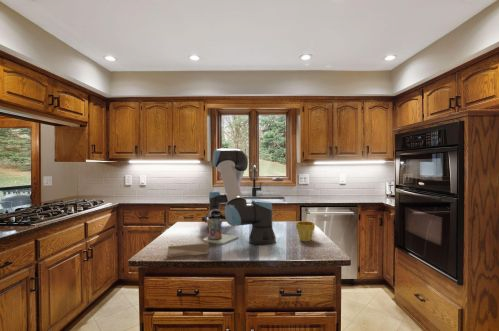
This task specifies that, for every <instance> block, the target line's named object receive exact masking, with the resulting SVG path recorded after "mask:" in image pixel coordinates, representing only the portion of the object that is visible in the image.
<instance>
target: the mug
mask: <svg viewBox="0 0 499 331" xmlns="http://www.w3.org/2000/svg"><path fill="white" fill-rule="evenodd" d="M223 220H224V219H209V220H207V222H206V223H208V224H207V226H208V235H207V238H209V239H219V238H221V237H222V235H221V234H222V231H221V227H222V222H223Z"/></svg>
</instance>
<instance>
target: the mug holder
mask: <svg viewBox="0 0 499 331" xmlns="http://www.w3.org/2000/svg"><path fill="white" fill-rule="evenodd" d="M167 248H168V251H167V252H168V253H167V254H168V258H172V257H185V256H196V255H208V254H210V242H207V241H204V243H203V242H202V243H189V244H175V245H174V243H173V242H170V245H168V246H167Z"/></svg>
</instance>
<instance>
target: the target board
mask: <svg viewBox="0 0 499 331" xmlns="http://www.w3.org/2000/svg"><path fill="white" fill-rule="evenodd" d="M221 235H222V237H221V238H219V239H209V238H208V237H205V238H202V242H205V241H207V243H212V244H219V245H222V246H223V245H226V244H228V243H231V242H233V241H236V240H238V239H240V238H239V236H237V235H232V234H231V235H230V234H225V233H221Z"/></svg>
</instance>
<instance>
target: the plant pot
mask: <svg viewBox="0 0 499 331" xmlns="http://www.w3.org/2000/svg"><path fill="white" fill-rule="evenodd" d="M295 227H296V228H295V229H297V234H298V239H299V241H301V242H310V241H312V239H313V238H312V237H313V232H314V230H315V222H313V221H309V220H308V221H305V220H304V221H303V220H301V221H297V222H296V223H295Z"/></svg>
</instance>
